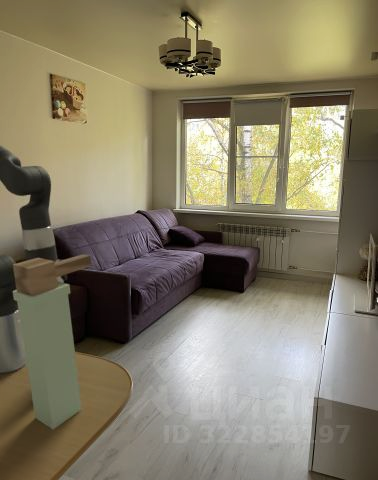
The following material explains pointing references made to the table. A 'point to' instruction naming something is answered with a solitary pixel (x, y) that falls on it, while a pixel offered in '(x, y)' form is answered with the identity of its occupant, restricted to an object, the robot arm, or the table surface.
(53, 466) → the table surface
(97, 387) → the table surface
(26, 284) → the mallet
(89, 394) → the table surface
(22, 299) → the stand
